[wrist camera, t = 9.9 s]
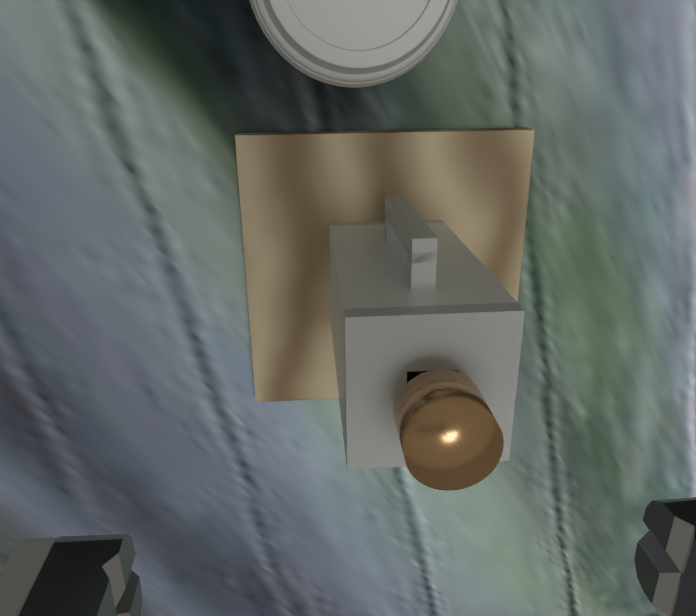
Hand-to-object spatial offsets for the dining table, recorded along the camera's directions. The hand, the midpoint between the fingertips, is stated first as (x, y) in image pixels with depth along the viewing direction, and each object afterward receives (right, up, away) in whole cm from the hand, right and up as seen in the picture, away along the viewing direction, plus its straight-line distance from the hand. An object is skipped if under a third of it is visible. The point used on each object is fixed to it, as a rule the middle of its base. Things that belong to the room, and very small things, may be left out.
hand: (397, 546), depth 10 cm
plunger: (+2, +6, +33) cm, 34 cm away
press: (+2, +7, +34) cm, 35 cm away
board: (+2, +7, +36) cm, 36 cm away
